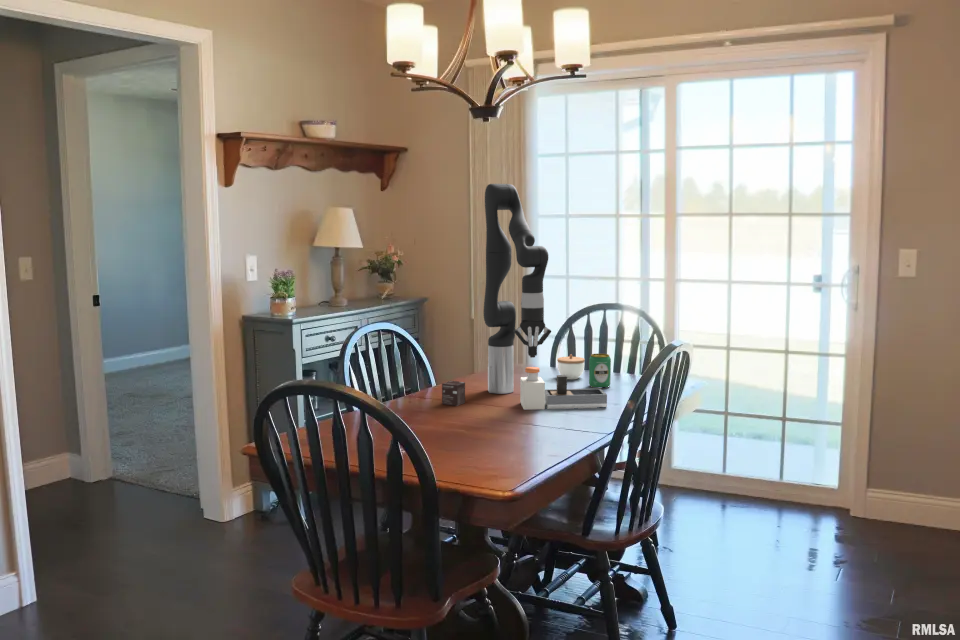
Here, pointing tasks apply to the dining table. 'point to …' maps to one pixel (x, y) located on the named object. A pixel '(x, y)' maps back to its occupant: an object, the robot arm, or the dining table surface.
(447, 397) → the box
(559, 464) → the dining table surface
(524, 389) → the white boxy piece
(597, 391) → the gray rectangular tray
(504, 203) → the robot arm
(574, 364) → the lidded jar
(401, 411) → the dining table surface
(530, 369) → the button
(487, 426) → the dining table surface
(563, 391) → the carriage
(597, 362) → the beverage can
